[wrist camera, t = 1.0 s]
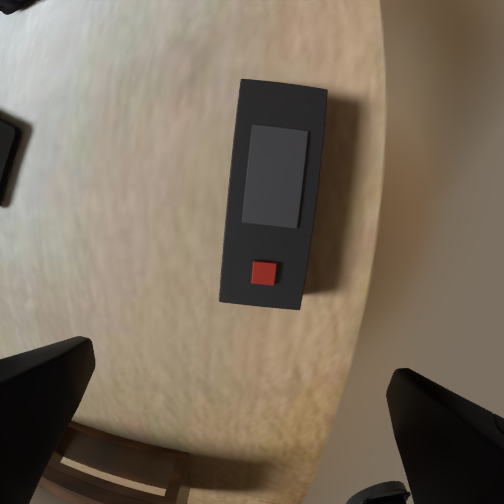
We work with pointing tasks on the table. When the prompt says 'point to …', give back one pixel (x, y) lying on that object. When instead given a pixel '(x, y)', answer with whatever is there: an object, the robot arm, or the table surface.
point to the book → (12, 5)
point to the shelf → (115, 469)
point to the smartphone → (7, 150)
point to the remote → (272, 193)
